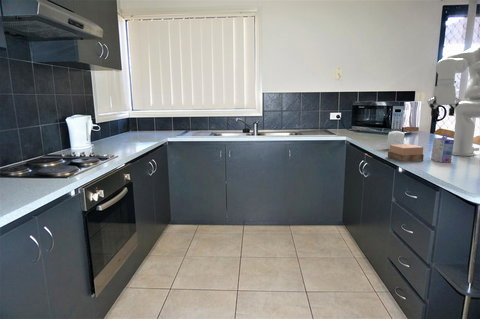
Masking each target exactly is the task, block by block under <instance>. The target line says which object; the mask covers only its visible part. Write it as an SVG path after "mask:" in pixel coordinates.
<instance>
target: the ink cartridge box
mask: <svg viewBox="0 0 480 319" xmlns="http://www.w3.org/2000/svg"><path fill="white" fill-rule="evenodd" d="M449 136H450V135H449V134H445V133H444V134H443V135H442V137H433V141H432V147H431V154H430V155H431V156H430V159H431V160H433V161H436V162H439V163H452V159H453V155H452V152H453V144H454V139H451V138H450V139H448V137H449Z"/></svg>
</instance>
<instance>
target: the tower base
mask: <svg viewBox="0 0 480 319" xmlns="http://www.w3.org/2000/svg"><path fill="white" fill-rule="evenodd" d="M389 151H390V150H388V151H387V158H388V159H392V160H394V161H398V162H400V163H402V162H403V163H404V162H406V163H407V162H423V161H424V153H423V154H420V155H400V154H396V153H392V152H389Z"/></svg>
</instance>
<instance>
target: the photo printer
mask: <svg viewBox="0 0 480 319" xmlns="http://www.w3.org/2000/svg"><path fill="white" fill-rule="evenodd" d="M386 142H387V143H386V150H388V151H390V145H400V144H404V142H405V133H404V132H403V131H399V130H394V131H389V132H388V134H387V141H386Z"/></svg>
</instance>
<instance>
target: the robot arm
mask: <svg viewBox="0 0 480 319" xmlns="http://www.w3.org/2000/svg"><path fill="white" fill-rule="evenodd" d="M467 69H468V73H469V78H470V79H469V82H468V84H467V85H468V86H467V88H466V89H465V92H464V96H463V98H464V100H465V101H463V100H462V101H461V99H460V98H458V97H457V96H456V94H457V93H456V92H457V90H456V85H455V84H456V83H457V81H456V79H455V78H456V74H462V73H464V72H465V71H467ZM435 72H436V73H437V83H436V86H434V89H433V93H432V98H429V99H428V100H427V104H428V107H429V108H430V110H431V111H430V116H431V117H437V113H438V112H437V111H438V109H437V108H438V106H449V108H448V116H450V117H453V116H455V124H454V135H453V140H454V144H453V152H452V156H453V155H454V156H463V157H473V156H475V155H476V154H475V152H479V151H480V147H474V146H473V144H474V136H475V130H476V125H475V122H474V120H473V119H475V118H476V119H480V45H478V46H473V47H471V48H469V49H467V50H465V51H464V52H460V53H456V54H454V55H450V56H446V57H444V58H442V59H440V60H439V61H437V63H436V65H435Z"/></svg>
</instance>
